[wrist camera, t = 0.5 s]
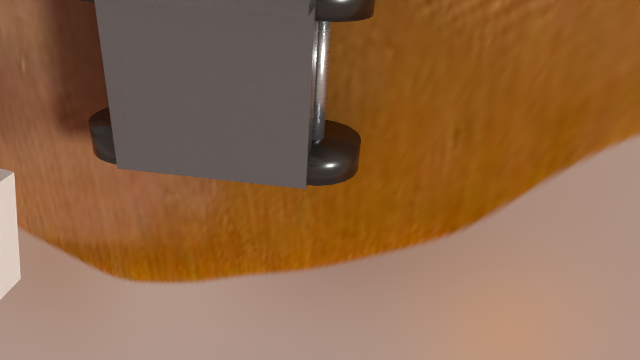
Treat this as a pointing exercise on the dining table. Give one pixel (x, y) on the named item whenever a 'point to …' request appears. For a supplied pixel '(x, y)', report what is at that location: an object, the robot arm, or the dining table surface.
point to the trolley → (223, 89)
